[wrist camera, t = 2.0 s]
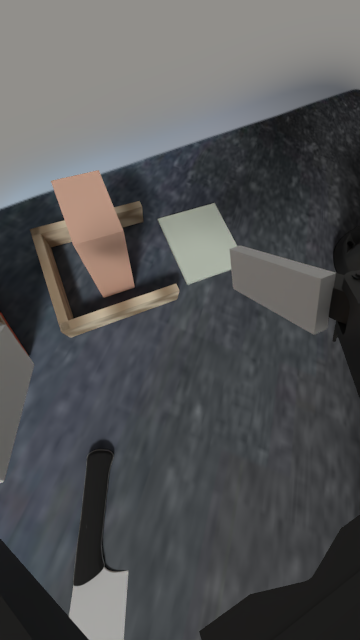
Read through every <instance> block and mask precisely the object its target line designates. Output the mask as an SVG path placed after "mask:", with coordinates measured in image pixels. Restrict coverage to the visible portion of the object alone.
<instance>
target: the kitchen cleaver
mask: <svg viewBox="0 0 360 640" xmlns="http://www.w3.org/2000/svg"><path fill="white" fill-rule="evenodd" d="M113 457H114V454H113V453H112V452H111V451H110V450H107V449H97V450H94V451H92V452H91V453H89V454H88V456H87V463H86V476H85V484H84V494H83V503H82V511H81V519H80V527H79V535H78V543H77V551H76V559H75V568H74V578H73V584H74V586H73V593H72V599H71V606H70V613H69V618H70V619H71V620H72V621H73V622H74V623H75V624H76V626H77V627H78V628H79V629H80V630H81V631H82V632H83V634H84V635H85V636H86V637H87V638H88V639H89V640H124V625H125V611H126V597H127V582H128V571H110V570H108V569H107V568H106V567H105V564H104V560H103V556H102V535H103V524H104V515H105V505H106V496H107V488H108V480H109V472H110V467H111V464H112V461H113Z"/></svg>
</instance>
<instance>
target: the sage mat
mask: <svg viewBox="0 0 360 640" xmlns="http://www.w3.org/2000/svg"><path fill="white" fill-rule="evenodd" d="M158 222H159V224H160V226H161V228H162V231H163V233H164V235H165V237H166V239H167V242H168V244H169V246H170V248H171V250H172V253H173V255H174V257H175V259H176V261H177V264H178V266H179V268H180V270H181V272H182V275H183V277H184V279H185V281H186V283H187V285H189V284H192V283H194V282H197V281H200V280H203V279H206V278H209V277H212V276H215V275H217V274H220V273H223V272H226V271H229V270H231V259H230V249H231V248H234V247H237V245H236V243H235V241H234V239H233V237H232V235H231V233H230V231H229V230H228V228H227V226H226V224H225V222H224V220H223V218H222V216H221V214H220V213H219V211H218V209H217V207H216V205H215V203H213V204H209V205H206V206H202V207H198V208H195V209H191V210H188V211H184V212H181V213H177V214H173V215H170V216H166V217H163V218H159V219H158Z"/></svg>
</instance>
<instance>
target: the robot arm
mask: <svg viewBox="0 0 360 640" xmlns="http://www.w3.org/2000/svg"><path fill="white" fill-rule="evenodd" d="M230 259H231V270H232V281H233V289H235V290H237V291H238V292H240V293H242V294H244V295H245V296H247V297H249V298H251V299H252V300H254V301H256V302H258V303H259V304H261V305H263V306H265V307H266V308H268V309H270V310H272V311H273V312H275V313H277V314H279V315H280V316H282V317H284V318H286V319H287V320H289V321H291V322H292V323H294V324H296V325H298V326H299V327H301V328H303V329H305V330H306V331H308V332H310V333H312V334H313V335H315V334H317V333H319V332H321V331H324V330H326V329H327V327H328V321H329V317H330V318H332V319H334V320H336V324H335V330H334V335H333V341H334V342H336V338H337V337H338V338H339V340H340V343H341V346H342V349H343V352H344V355H345V358H346V360H347V363H348V366H349V369H350V372H351V375H352V377H353V380H354V383H355V386H356V389H357V392H358V395H359V397H360V226H358V227H356V228H354V229H352V230H351V231H350V232H349V233H347V234H346V235H345V236H343V237H342V238H341V239H340V240H339V242H338V243H337V245H336V248H335V251H334V263H335V268H336V271H337V273H335V272H331V271H328V270H324V269H321V268H317V267H314V266H310V265H307V264H303V263H300V262H296V261H293V260H289V259H286V258H282V257H279V256H275V255H272V254H268V253H265V252H261V251H258V250H254V249H251V248H247V247H244V246H237V247H234V248H231V249H230ZM33 367H34V363H33V362H32V360H31V359H30V358H29V356H28V355H27V354H26V352H25V351H24V349H23V348H22V347H21V345H20V344H19V342H18V341H17V340H16V338H15V337H14V335H13V334H12V333H11V331H10V330H9V329H8V327H7V326H6V324H5V325H2V326H0V483H2V482H4V480H5V476H6V472H7V468H8V464H9V460H10V456H11V453H12V449H13V445H14V441H15V437H16V433H17V429H18V425H19V421H20V418H21V414H22V410H23V406H24V402H25V398H26V394H27V390H28V387H29V383H30V379H31V375H32V371H33ZM199 632H200V636H201V639H202V640H360V515H359V516H358V517H356V518H355V519H353V520H352V521H351V522H349V523H348V524H347V525H345V526H344V527H342V528H341V529H340V531H339V533H338V534H337V536H336V538H335V540H334V541H333V543H332V545H331V546H330V548H329V550H328V551H327V553H326V555H325V557H324V558H323V560H322V562H321V563H320V565H319V567H318V569H317V570H316V572H315V574H314V575H313V576H312V578H310V579H309V580H307V581H305V582H301V583H296V584H292V585H288V586H284V587H279V588H275V589H271V590H267V591H262V592H258V593H254V594H250V595H249V596H247V597H246V598H245V599H243V600H242V601H240V602H239V603H238V604H236V605H235V606H234V607H232V608H231V609H229V610H228V611H227V612H225V613H224V614H223V615H221V616H220V617H218V618H217V619H216V620H214V621H213V622H212V623H210V624H209V625H207V626H206V627H205V628H203V629H202V630H201V631H199ZM0 640H89V639H88V638H87V637H86V636H85V635H84V634H83V632H82V631H81V630H80V629H79V628H78V627H77V626H76V624H75V623H74V622H73V621H72V620H71V619H70V618H69V616H68V615H67V614H66V613H65V612H64V611H63V610H62V608H61V607H60V606H59V605H58V604H57V603H56V602H55V600H54V599H53V598H52V597H51V596H50V595H49V594H48V593H47V591H46V590H45V589H44V588H43V587H42V586H41V585H40V583H39V582H38V581H37V580H36V579H35V578H34V577H33V575H32V574H31V573H30V572H29V571H28V570H27V569H26V567H25V566H24V565H23V564H22V563H21V562H20V561H19V560H18V558H17V557H16V556H15V555H14V554H13V553H12V552H11V550H10V549H9V548H8V547H7V546H6V545H5V544H4V542H3V541H2V540H1V539H0Z"/></svg>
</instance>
